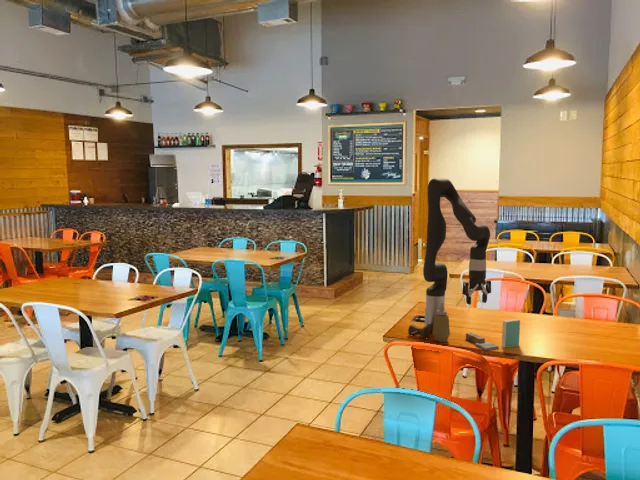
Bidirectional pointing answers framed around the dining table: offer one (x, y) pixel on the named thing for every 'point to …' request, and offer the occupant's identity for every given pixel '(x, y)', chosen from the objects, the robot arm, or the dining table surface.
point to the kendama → (421, 330)
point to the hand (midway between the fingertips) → (476, 303)
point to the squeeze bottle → (441, 325)
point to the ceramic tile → (510, 333)
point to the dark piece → (480, 342)
